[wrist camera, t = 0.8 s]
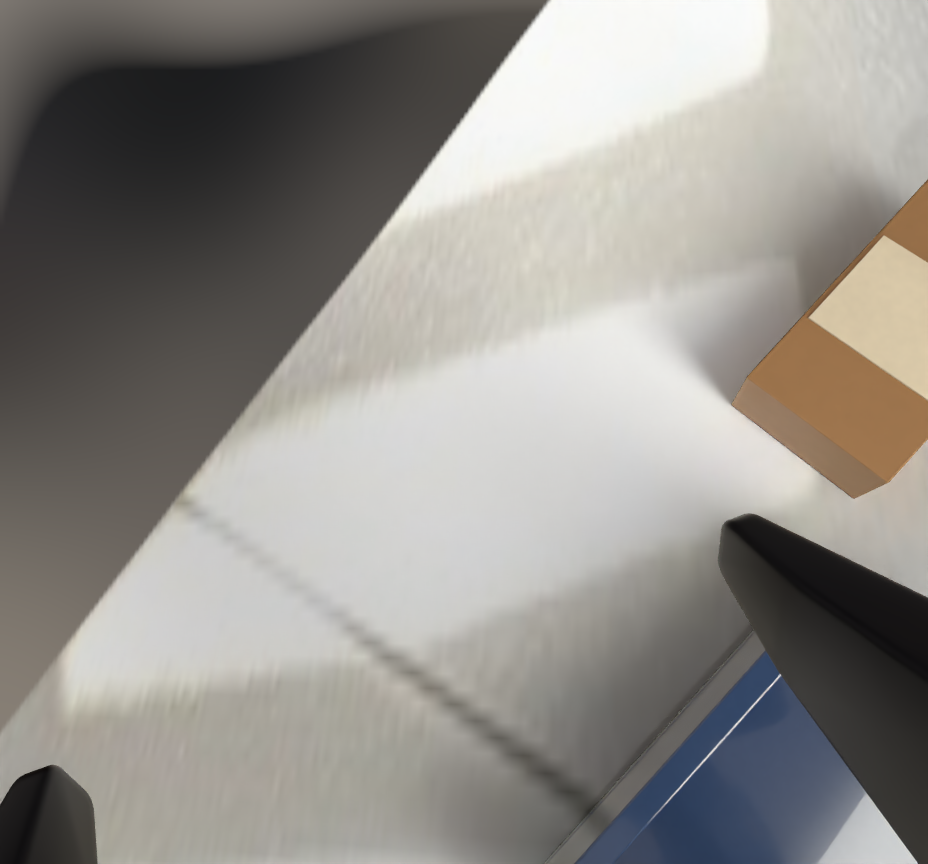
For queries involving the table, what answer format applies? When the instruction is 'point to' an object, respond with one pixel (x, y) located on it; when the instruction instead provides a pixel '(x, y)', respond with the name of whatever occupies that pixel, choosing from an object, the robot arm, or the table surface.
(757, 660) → the open box
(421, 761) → the table surface
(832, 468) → the packet
